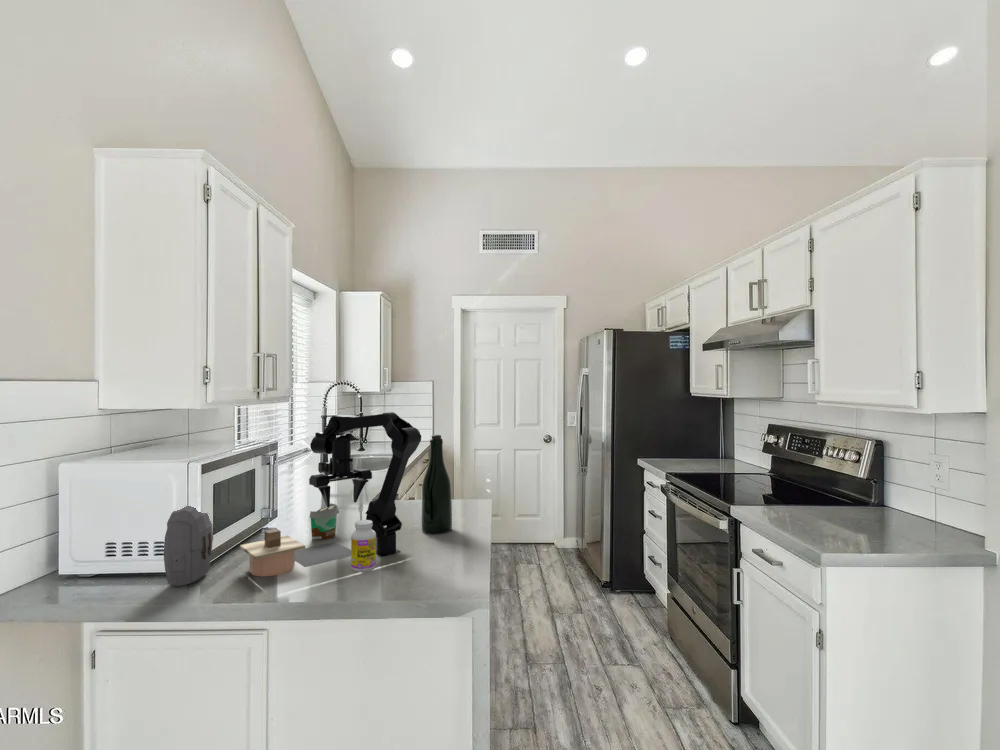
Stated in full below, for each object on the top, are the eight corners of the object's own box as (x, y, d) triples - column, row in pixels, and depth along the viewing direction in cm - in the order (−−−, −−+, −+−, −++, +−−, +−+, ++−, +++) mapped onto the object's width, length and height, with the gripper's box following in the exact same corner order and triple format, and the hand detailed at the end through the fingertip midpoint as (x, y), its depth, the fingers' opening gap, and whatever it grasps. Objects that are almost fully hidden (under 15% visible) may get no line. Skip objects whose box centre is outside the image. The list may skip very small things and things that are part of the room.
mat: (358, 555, 156) (358, 553, 156) (305, 568, 145) (305, 566, 145) (334, 543, 168) (334, 541, 168) (283, 554, 157) (283, 553, 157)
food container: (327, 544, 167) (326, 512, 167) (309, 543, 168) (309, 511, 168) (345, 532, 179) (345, 503, 179) (329, 532, 180) (329, 502, 180)
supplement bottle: (354, 574, 141) (353, 526, 141) (348, 566, 147) (348, 520, 147) (378, 570, 144) (378, 523, 144) (372, 562, 150) (372, 517, 150)
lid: (305, 548, 144) (305, 531, 144) (255, 559, 135) (255, 541, 135) (287, 538, 154) (287, 521, 154) (240, 548, 145) (239, 530, 145)
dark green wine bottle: (416, 533, 178) (415, 436, 178) (429, 525, 188) (428, 433, 188) (445, 536, 175) (444, 436, 175) (456, 527, 185) (456, 433, 185)
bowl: (300, 570, 144) (300, 548, 144) (258, 581, 137) (258, 558, 137) (285, 560, 152) (285, 539, 152) (245, 569, 145) (244, 548, 145)
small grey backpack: (191, 570, 145) (191, 497, 145) (222, 569, 145) (222, 497, 145) (158, 592, 130) (158, 511, 130) (193, 591, 130) (193, 510, 130)
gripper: (355, 449, 178) (356, 495, 177) (301, 455, 165) (301, 505, 165) (372, 452, 170) (373, 501, 169) (317, 459, 157) (317, 511, 157)
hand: (341, 504), depth 165 cm, fingers open, 9 cm apart
